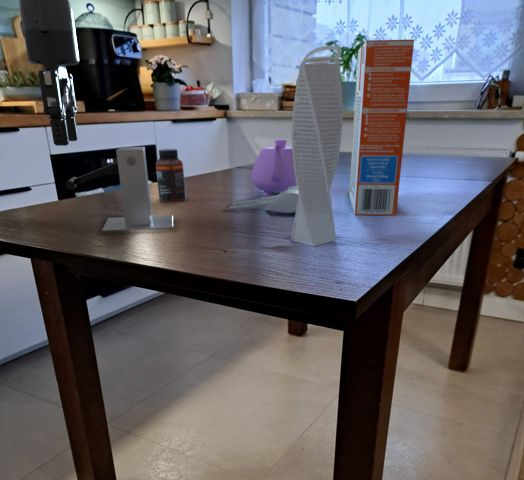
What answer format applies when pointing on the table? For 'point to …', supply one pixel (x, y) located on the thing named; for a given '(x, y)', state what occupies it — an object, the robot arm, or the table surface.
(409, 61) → the orange cereal box
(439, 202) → the table surface
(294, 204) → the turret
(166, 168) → the supplement bottle
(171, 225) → the upright plaque on base
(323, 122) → the skyscraper
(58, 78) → the robot arm
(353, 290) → the table surface
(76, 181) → the lever
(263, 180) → the teapot
